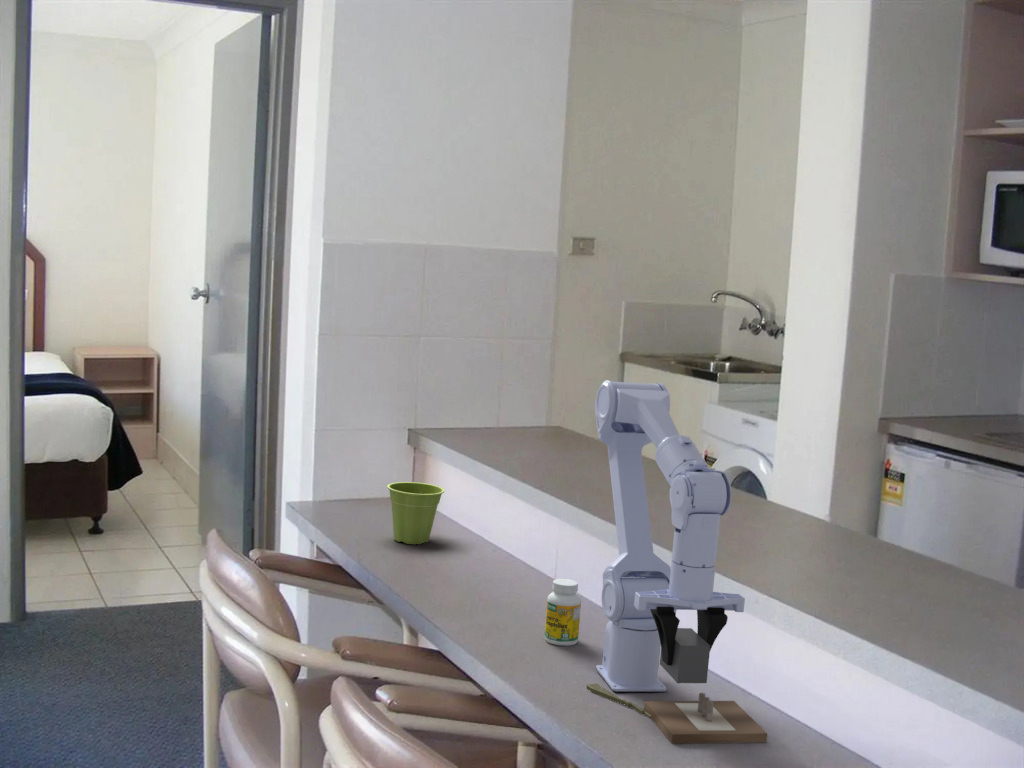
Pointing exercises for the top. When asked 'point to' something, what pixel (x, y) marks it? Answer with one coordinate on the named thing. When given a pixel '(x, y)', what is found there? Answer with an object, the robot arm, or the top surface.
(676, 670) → the block
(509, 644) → the top surface
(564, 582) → the supplement bottle
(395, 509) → the plant pot
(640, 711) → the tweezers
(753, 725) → the pin board
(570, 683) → the top surface
